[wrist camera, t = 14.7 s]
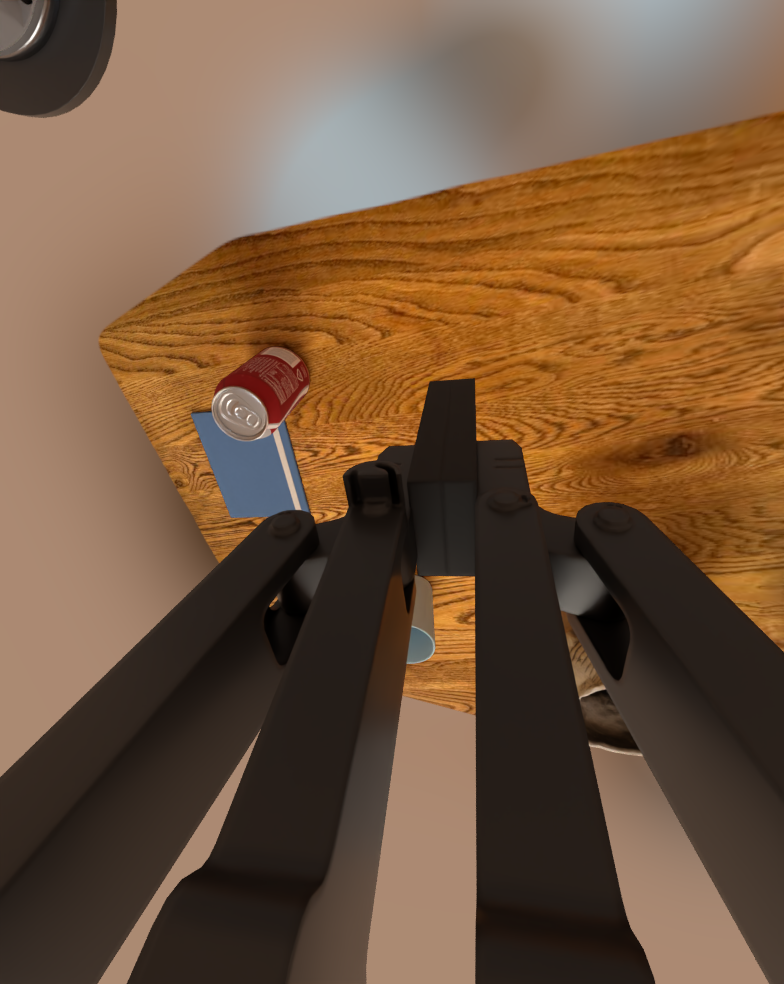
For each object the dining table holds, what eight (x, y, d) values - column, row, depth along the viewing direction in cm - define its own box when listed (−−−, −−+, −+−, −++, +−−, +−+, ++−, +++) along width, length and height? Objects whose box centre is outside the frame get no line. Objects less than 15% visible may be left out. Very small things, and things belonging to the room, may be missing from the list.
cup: (423, 562, 65) (416, 618, 56) (449, 597, 68) (445, 656, 59) (379, 578, 68) (366, 634, 59) (405, 611, 71) (396, 669, 62)
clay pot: (658, 652, 68) (719, 799, 51) (517, 624, 69) (532, 759, 52) (734, 546, 56) (844, 692, 40) (563, 515, 57) (600, 643, 41)
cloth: (192, 412, 57) (190, 414, 57) (281, 405, 55) (279, 407, 54) (232, 516, 65) (230, 518, 65) (310, 514, 63) (309, 516, 63)
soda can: (269, 332, 50) (220, 365, 40) (322, 368, 52) (286, 408, 42) (246, 379, 54) (194, 421, 44) (295, 412, 55) (256, 459, 45)
